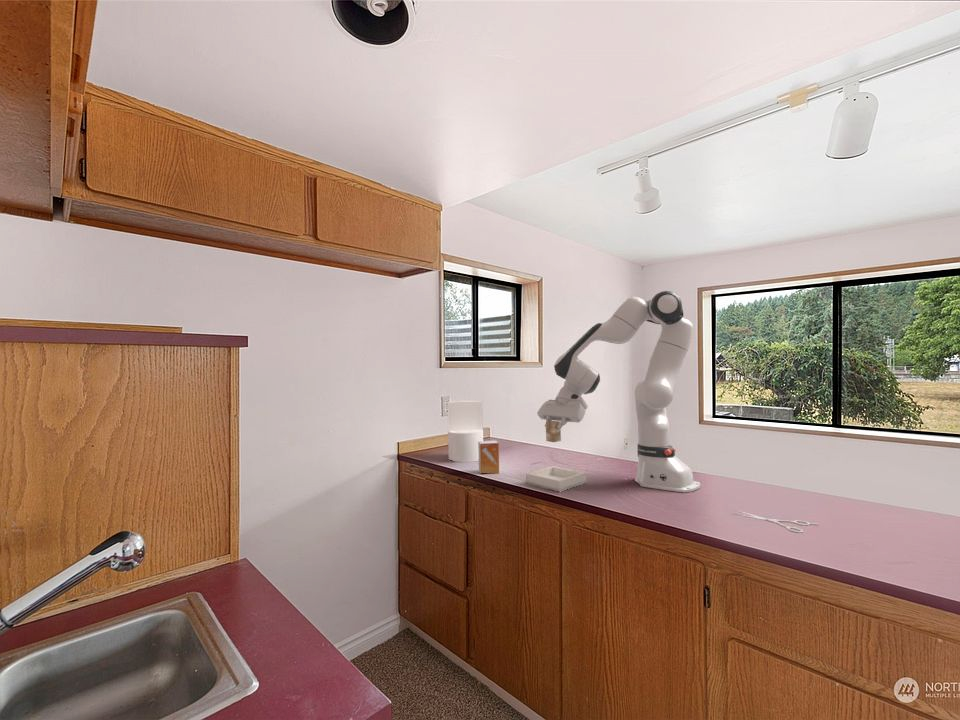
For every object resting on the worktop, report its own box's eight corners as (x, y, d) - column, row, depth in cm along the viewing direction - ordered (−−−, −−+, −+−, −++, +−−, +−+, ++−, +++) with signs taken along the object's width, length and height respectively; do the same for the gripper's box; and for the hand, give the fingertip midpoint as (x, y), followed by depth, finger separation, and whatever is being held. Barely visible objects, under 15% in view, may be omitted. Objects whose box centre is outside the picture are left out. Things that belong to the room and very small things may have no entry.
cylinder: (448, 455, 224) (446, 400, 224) (481, 454, 226) (480, 399, 226) (449, 463, 207) (447, 403, 207) (485, 461, 209) (484, 402, 209)
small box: (480, 474, 185) (479, 443, 185) (478, 471, 191) (477, 441, 191) (499, 473, 186) (498, 442, 186) (497, 469, 192) (496, 440, 192)
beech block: (560, 440, 171) (560, 421, 171) (554, 442, 168) (553, 422, 168) (552, 439, 174) (552, 420, 174) (546, 441, 171) (545, 421, 171)
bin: (585, 483, 168) (585, 472, 168) (559, 492, 157) (559, 481, 157) (552, 476, 179) (552, 466, 179) (526, 484, 169) (525, 473, 169)
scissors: (808, 534, 114) (725, 514, 129) (808, 537, 114) (725, 517, 129) (819, 523, 121) (739, 506, 136) (819, 526, 121) (739, 509, 136)
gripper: (543, 394, 184) (528, 420, 177) (584, 396, 168) (569, 424, 162) (550, 404, 187) (536, 430, 180) (591, 406, 171) (577, 435, 165)
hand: (552, 427), depth 171 cm, fingers closed on beech block, 4 cm apart
